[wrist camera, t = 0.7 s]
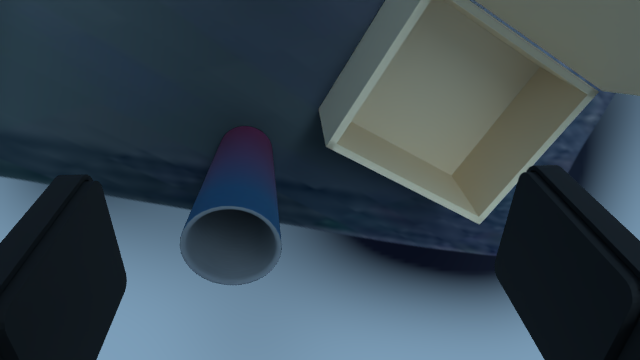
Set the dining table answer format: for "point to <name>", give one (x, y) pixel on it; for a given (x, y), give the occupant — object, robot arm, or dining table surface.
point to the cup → (235, 213)
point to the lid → (582, 36)
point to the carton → (449, 103)
